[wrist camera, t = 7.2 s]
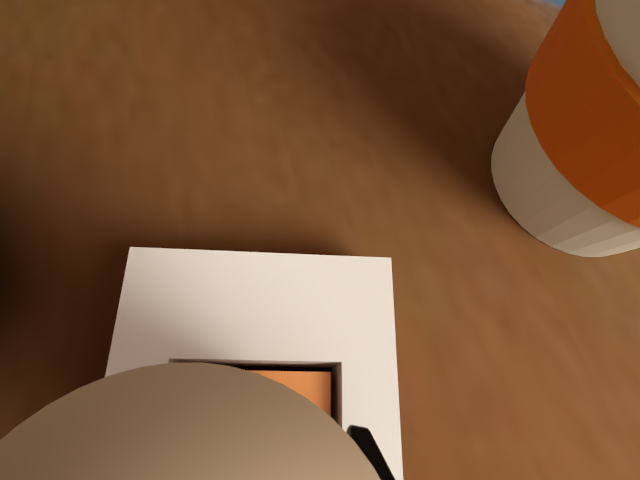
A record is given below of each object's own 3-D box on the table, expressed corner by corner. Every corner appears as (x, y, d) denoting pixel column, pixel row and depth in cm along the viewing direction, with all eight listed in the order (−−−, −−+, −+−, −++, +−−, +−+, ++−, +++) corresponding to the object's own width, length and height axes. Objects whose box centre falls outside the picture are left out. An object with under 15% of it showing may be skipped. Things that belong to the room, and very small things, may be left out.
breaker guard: (389, 676, 14) (417, 744, 11) (82, 690, 13) (30, 767, 10) (374, 278, 19) (391, 257, 16) (152, 270, 18) (130, 246, 15)
